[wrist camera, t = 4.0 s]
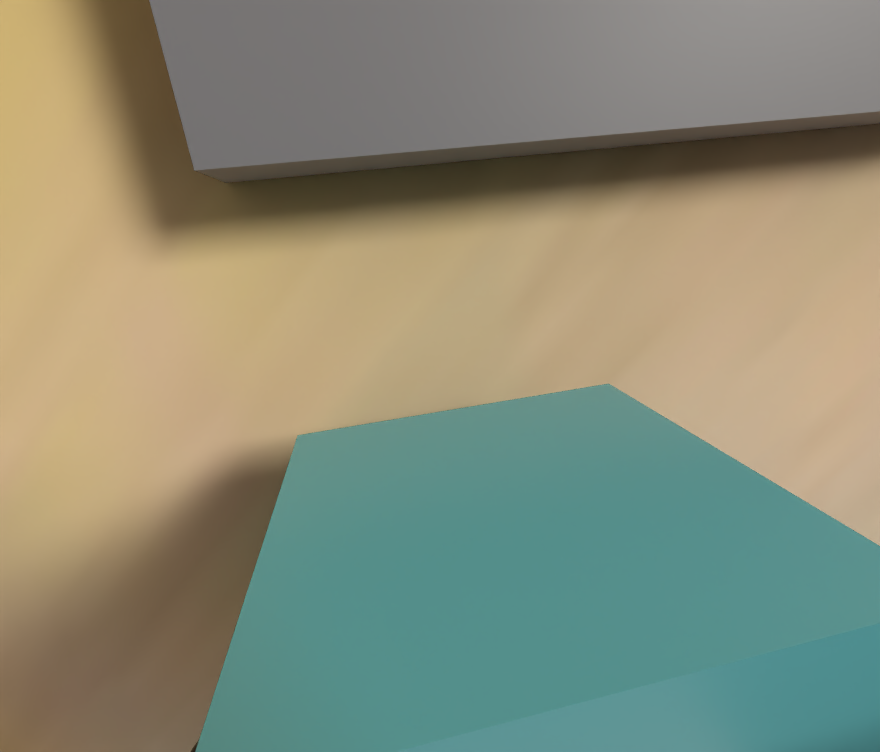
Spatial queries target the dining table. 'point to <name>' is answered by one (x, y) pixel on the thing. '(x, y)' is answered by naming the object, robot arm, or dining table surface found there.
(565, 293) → the dining table surface
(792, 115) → the base plate
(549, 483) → the turquoise cube
